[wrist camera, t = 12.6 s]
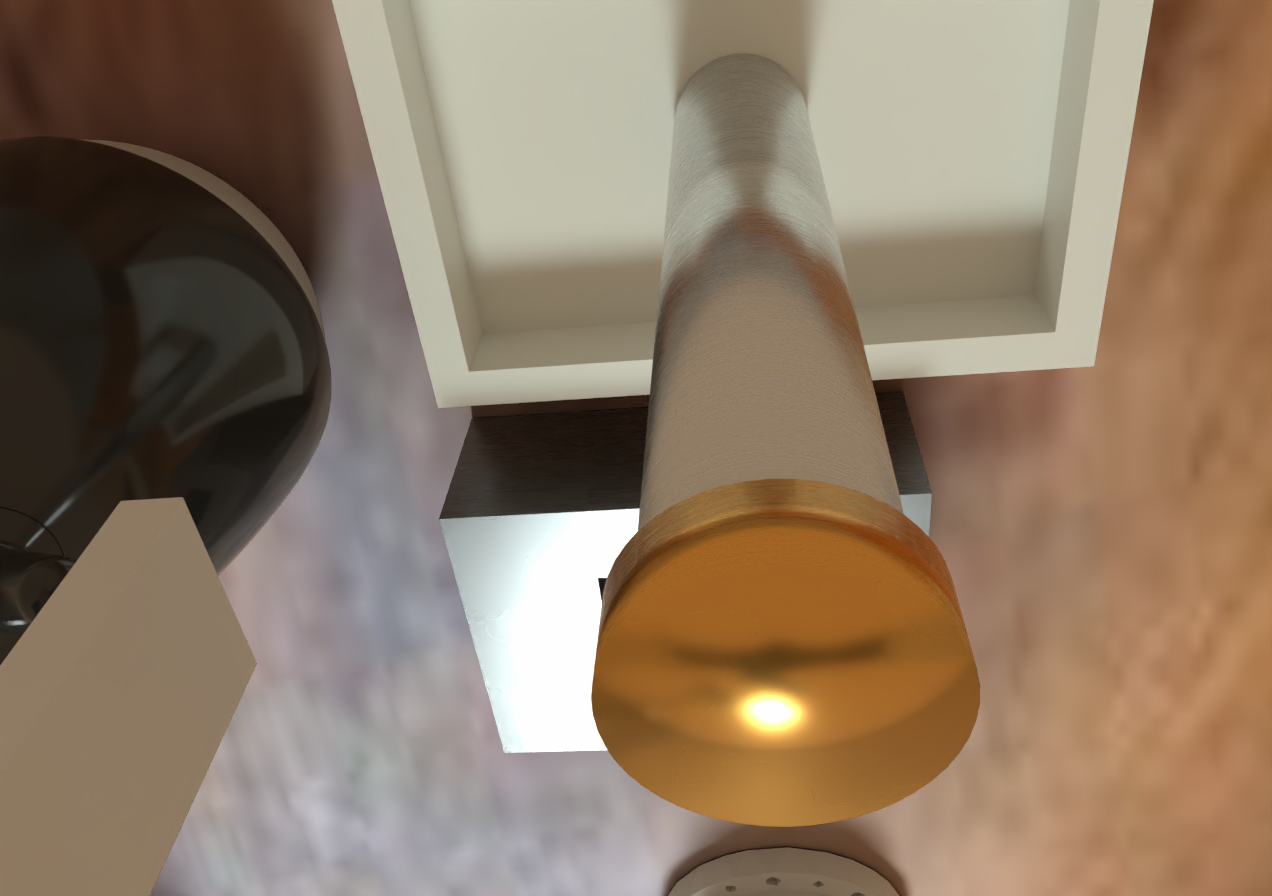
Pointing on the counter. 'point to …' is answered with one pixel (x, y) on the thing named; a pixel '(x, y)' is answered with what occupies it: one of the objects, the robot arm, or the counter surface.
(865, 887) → the mechanical component
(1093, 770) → the counter surface
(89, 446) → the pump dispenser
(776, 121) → the pin
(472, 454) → the block
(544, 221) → the tray
